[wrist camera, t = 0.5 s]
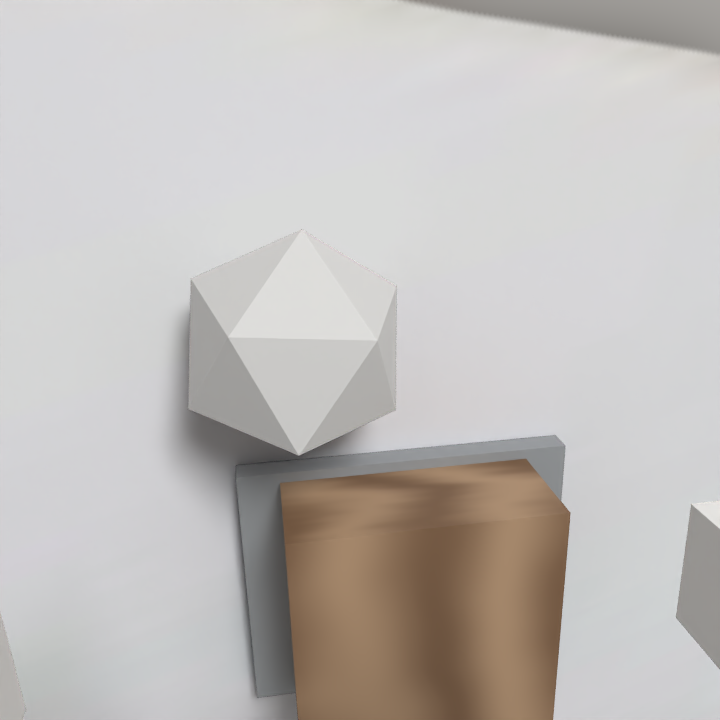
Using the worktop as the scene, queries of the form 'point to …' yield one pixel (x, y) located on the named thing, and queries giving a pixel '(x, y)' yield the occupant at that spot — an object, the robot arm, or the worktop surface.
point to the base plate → (263, 479)
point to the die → (293, 344)
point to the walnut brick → (426, 593)
